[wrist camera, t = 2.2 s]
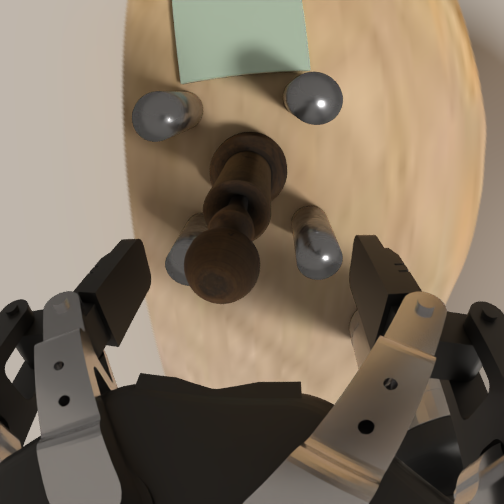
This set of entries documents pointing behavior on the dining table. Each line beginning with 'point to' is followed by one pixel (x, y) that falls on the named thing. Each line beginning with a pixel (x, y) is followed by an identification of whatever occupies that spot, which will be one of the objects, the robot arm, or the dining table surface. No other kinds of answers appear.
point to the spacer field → (305, 219)
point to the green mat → (239, 38)
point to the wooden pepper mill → (235, 217)
